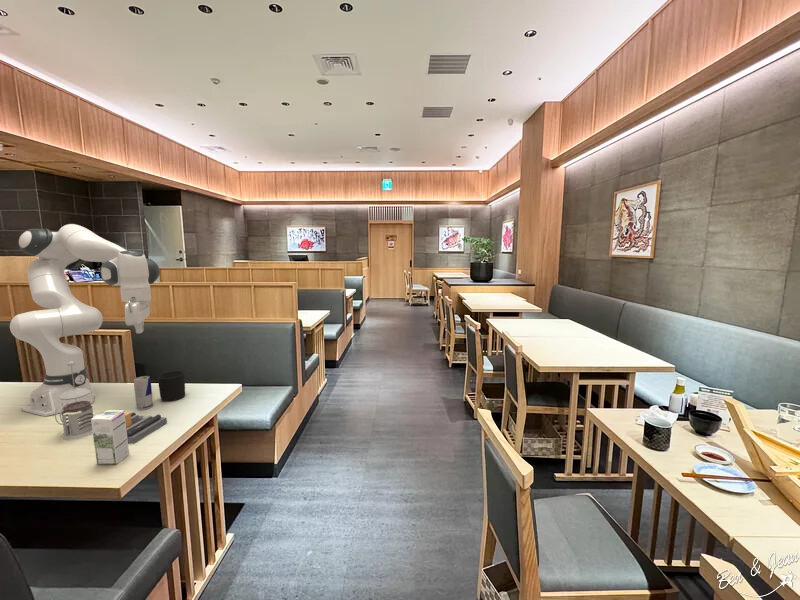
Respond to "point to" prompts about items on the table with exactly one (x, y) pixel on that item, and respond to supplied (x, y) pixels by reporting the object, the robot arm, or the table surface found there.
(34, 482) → the table surface
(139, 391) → the energy drink
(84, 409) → the french press
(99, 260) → the robot arm
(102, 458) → the syrup box
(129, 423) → the lever
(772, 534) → the table surface
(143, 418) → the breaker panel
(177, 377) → the pen holder
